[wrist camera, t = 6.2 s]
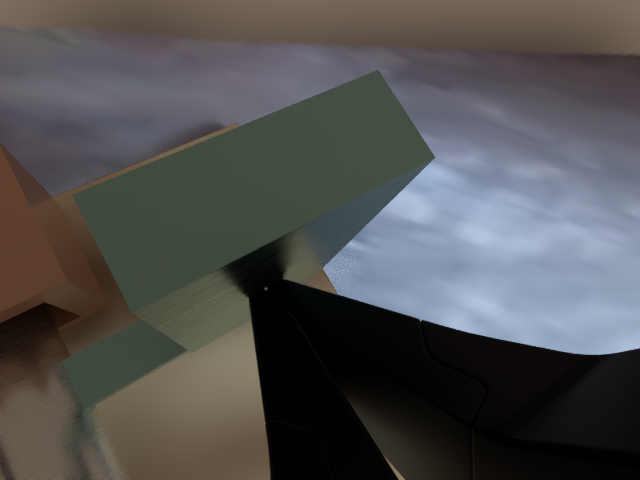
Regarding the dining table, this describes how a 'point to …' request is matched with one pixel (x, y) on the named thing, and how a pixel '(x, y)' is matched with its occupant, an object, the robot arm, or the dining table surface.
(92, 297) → the orange block
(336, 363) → the robot arm
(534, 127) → the dining table surface
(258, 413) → the birch board
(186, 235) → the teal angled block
